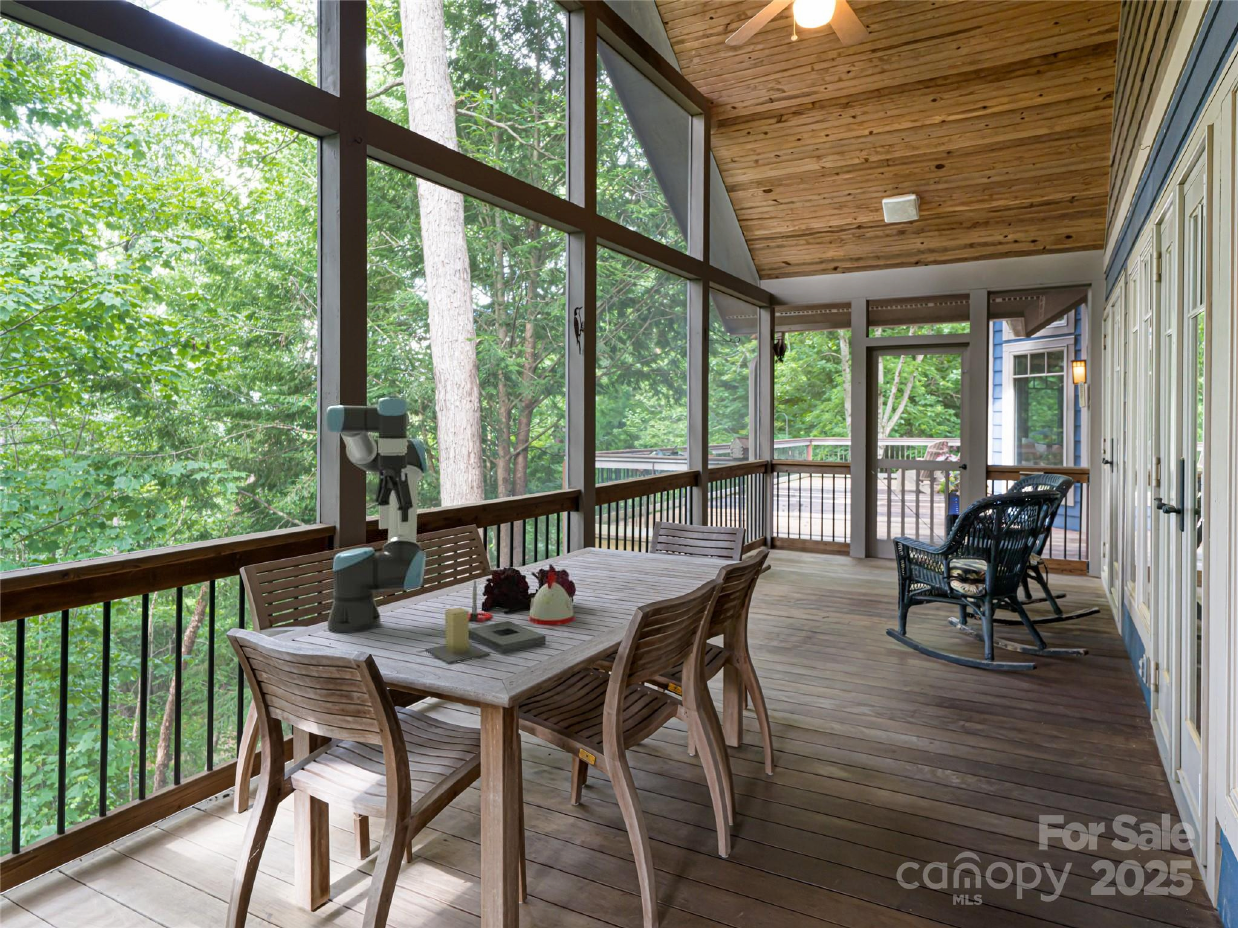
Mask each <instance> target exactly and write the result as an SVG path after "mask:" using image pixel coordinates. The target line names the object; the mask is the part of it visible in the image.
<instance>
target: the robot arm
mask: <svg viewBox="0 0 1238 928" xmlns="http://www.w3.org/2000/svg"><path fill="white" fill-rule="evenodd" d="M407 406H408V405H407V400H406V399H405V398H400V397H382V398H379V399H378V403H377V405H376V406H375V405H374V406H373V405H372V406H371V405H370V406H369V405H367V406H365V405H340V404H339V405H332V406H328V408H327V409H326V416H325V417H326V418H325V420H326V428H327V431H328V432H330V433H336V434H340V436H341V438H342V439H343V442H344V443H345V446H346V447H345V453H346V456H347V458H348V459H349V461H350V462H351V463H352V464H353V465H354V466H356V467H358V468H360V469H362V470H364V471H366V472H368V473H374V474H378V477H379V478H378V482H377V488H376V492H375V499H374V502H375V503H377V506H378V529H379V530H384V529H386V530H388V531H387V532H388V533H387V542H386V543H384V545H383V546H382V550H381V551H382V552H375V549H374V547H359V548H353V549H348V550H344V551H341V552H339V553H337V554H336V555H335V556H334V557H333V564H332V565H333V566H332V567H333V568H332V575H333V576H332V578H333V583H332V584H333V585H332V586H333V604H332V606H331V609H330V613H329V616H328V619H327V629H328V630H329V631H331V632H336V633H356V632H358V633H359V632H363V631H369V630H372V629H373V630H374V629H375V628H378V627H379V626H380V625H382V624H381V622H382V621H381V615H380V611H379V609H378V607H377V603H376V600H375V592H379V591H380V592H382V591H383V592H384V591H385V592H386V591H387V592H388V591H408V590H416V589H419V588H420V587H421V586H422V584H423V581H424V575H425V570H426V569H425V568H426V560H427V558H426V555H427V554H426V551H424V550H422V547H421V545H420V544H419V543H418V542H417V533H418V532H417V526H418V524H417V523H418V487H419V486H418V484H419V483H418V482H419V481H420V480H422V478H423V475H424V474H426V473H427V471H428V465H427V457H426V450H425V444H424V442H423V440H421V439H418V438H416V439H415V438H410V437H409V438H408V437H407V436H408V435H407V433H408V432H407V431H408V427H409V424H410V416H409V413H408V407H407ZM370 433H378V438H371V437H370Z"/></svg>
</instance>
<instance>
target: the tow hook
mask: <svg viewBox="0 0 1238 928" xmlns="http://www.w3.org/2000/svg"><path fill="white" fill-rule="evenodd" d="M477 588H478V587H477V580H475V579H474V580H473V587H472V604H471V613H469V622H471V621H476V622H475V623H477V621H478V622H479V623H485V621H487V620H490V619H491V620H492V618H493V614H492V613H489V612H478V605H477V591H478V590H477ZM478 615H482V616H478Z"/></svg>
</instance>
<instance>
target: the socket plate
mask: <svg viewBox="0 0 1238 928" xmlns="http://www.w3.org/2000/svg"><path fill="white" fill-rule="evenodd" d="M469 639H470V640H471V639H472V640H471V641H473V642H475V641H476V643H477V642H478V644H480V645H482V646H485V647H486V648H488V649H490V650H493V651H494V652H497V653H498V654H501V655H503V654H509V653H513V652H517V651H523V650H527V649H532V648H536V647H540V646H545V645H547V641H546V639H547V636H546V635H545V634H543V633H540V632H538V631H535V630H533V629H530V628H528V627H526V626H522V625H521V624H517V623H515V622H513V621H510V620H505V621H500V622H495V623H490V624H486V625H479V626H474V627H473V626H472V627H469Z"/></svg>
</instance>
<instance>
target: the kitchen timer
mask: <svg viewBox="0 0 1238 928" xmlns="http://www.w3.org/2000/svg"><path fill="white" fill-rule="evenodd" d="M555 582H556V577H555V575H554V572H551V573H550V575H548V580H547V584H545V585H544V586H542V587H541V588H540V589H538V590H539V591H538V592H537V594H536V596H535V597H534V599H533V598H532V600H531V606H530V608H531V609H530V610H529V622H530V623H532V624H535V625H541V626H559V625H566V623H567V624H569V623H572V622H573V621H574V618H575V617H574V613H575V612H574V606H573V603H572V599H571V597H570V598H569V596H568V594H567V593H566V591H565V590H564V589H563V588H562V587H561V586H560V585H559V584H557V583H555ZM571 621H572V622H571Z"/></svg>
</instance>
